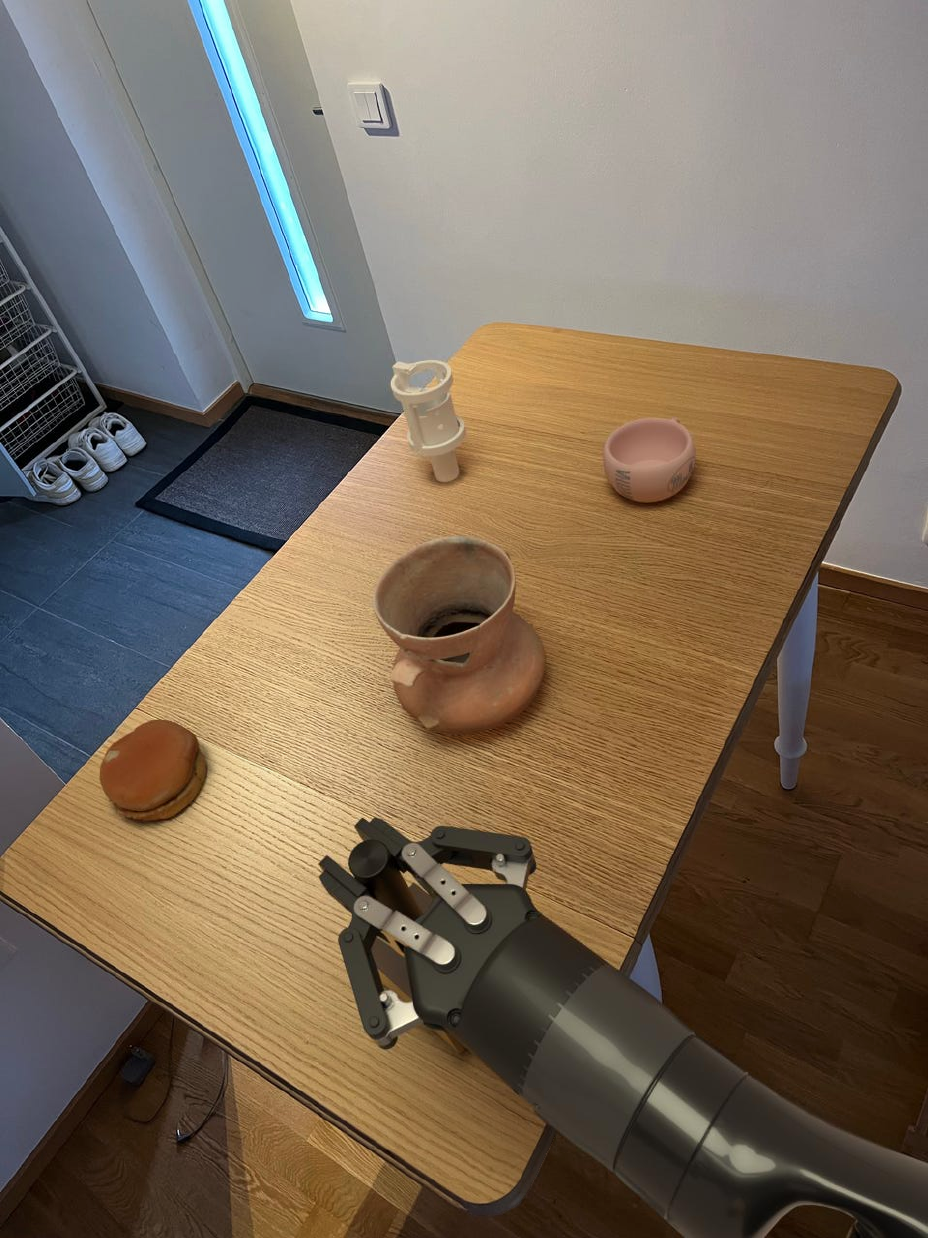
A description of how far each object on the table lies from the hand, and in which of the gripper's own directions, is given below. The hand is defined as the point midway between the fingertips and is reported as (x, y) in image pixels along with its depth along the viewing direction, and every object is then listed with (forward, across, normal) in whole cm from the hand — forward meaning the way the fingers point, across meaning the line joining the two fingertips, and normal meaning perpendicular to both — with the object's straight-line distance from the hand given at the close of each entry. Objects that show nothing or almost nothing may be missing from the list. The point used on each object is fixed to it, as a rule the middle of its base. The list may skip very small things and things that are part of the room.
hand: (344, 847), depth 50 cm
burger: (+32, +3, +19) cm, 37 cm away
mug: (+15, -57, +18) cm, 61 cm away
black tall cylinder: (-3, 0, +15) cm, 15 cm away
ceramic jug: (+14, -23, +18) cm, 33 cm away
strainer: (+38, -46, +18) cm, 63 cm away
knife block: (-3, 0, +18) cm, 19 cm away
